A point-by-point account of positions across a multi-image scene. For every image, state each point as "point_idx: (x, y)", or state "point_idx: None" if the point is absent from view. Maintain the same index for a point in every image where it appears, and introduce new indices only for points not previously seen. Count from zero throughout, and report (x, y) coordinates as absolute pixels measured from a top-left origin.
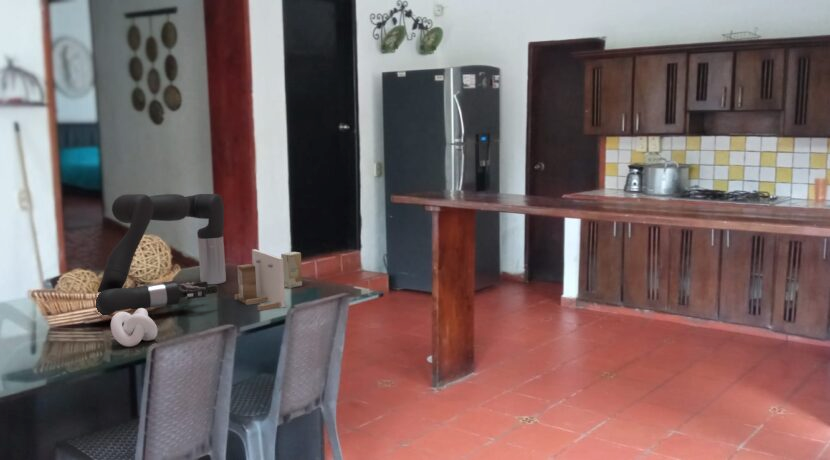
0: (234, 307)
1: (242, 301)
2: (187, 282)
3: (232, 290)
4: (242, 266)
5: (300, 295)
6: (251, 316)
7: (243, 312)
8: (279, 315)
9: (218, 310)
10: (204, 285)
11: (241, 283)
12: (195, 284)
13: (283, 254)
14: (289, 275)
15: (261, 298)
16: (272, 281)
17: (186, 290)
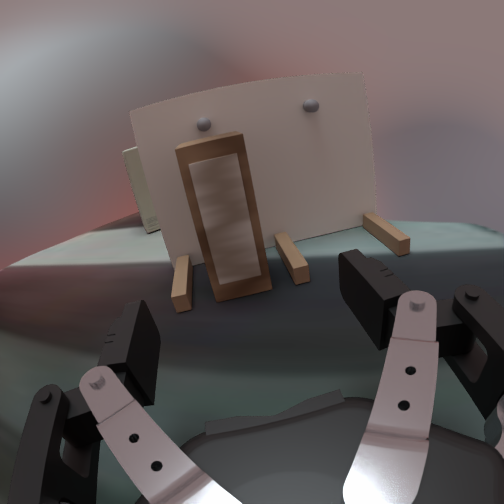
0: (330, 314)
1: (251, 290)
2: (36, 415)
3: (65, 310)
4: (207, 140)
5: None
6: (477, 264)
7: (425, 285)
8: (459, 223)
9: (368, 370)
10: (148, 334)
11: (241, 215)
12: (123, 378)
13: (132, 149)
14: None
15: (290, 240)
16: (316, 162)
17: (500, 460)
